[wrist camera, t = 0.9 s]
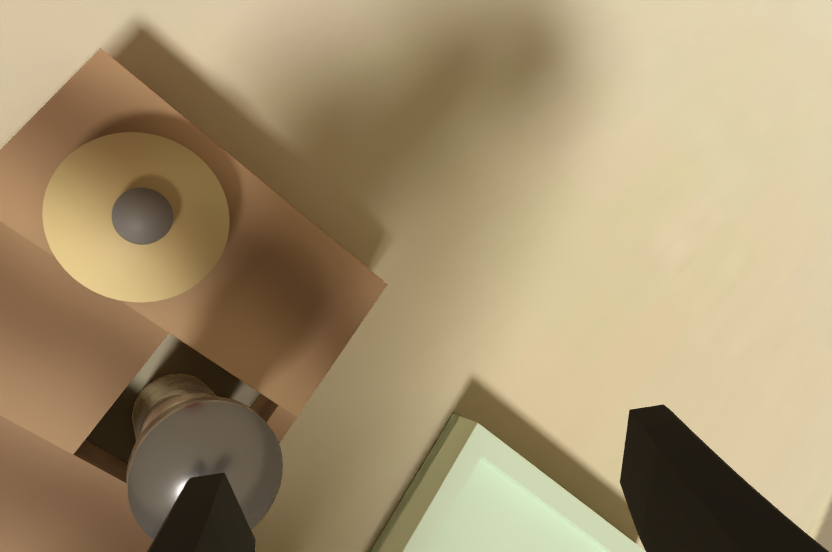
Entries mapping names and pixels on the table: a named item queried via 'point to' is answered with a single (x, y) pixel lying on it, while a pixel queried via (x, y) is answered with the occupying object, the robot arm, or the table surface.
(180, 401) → the pin
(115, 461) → the tensioner block
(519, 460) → the tray
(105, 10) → the table surface
